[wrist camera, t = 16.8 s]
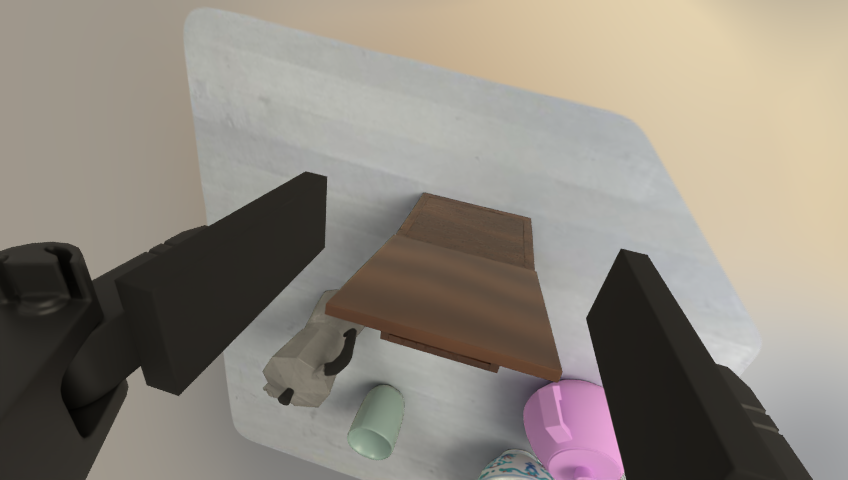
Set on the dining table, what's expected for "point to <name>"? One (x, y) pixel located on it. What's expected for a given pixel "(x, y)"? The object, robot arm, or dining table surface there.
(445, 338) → the lid
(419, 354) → the dining table surface
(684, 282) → the dining table surface
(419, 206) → the chest
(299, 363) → the coffeepot
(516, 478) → the chinaware
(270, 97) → the dining table surface
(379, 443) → the cup
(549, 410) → the teapot
